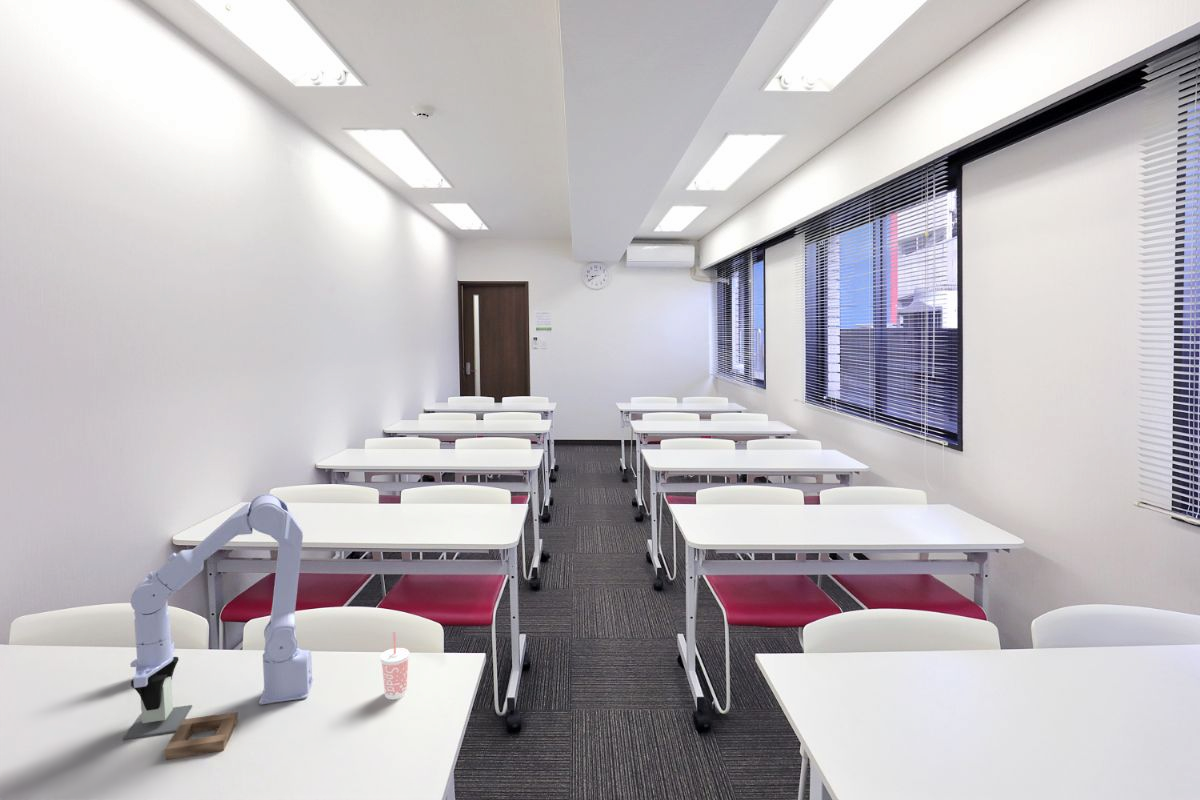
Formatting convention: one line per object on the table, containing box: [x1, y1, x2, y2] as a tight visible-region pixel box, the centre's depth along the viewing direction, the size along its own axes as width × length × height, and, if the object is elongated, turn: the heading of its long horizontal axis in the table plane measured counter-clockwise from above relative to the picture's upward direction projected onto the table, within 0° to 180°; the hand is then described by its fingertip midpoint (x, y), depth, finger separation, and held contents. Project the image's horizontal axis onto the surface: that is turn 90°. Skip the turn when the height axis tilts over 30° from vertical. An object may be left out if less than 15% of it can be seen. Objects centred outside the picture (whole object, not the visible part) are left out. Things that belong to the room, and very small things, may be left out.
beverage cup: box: [379, 632, 410, 700], centre depth 137 cm, size 6×6×14 cm
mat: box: [122, 704, 193, 741], centre depth 126 cm, size 9×9×1 cm
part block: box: [140, 677, 174, 723], centre depth 126 cm, size 4×4×7 cm
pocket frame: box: [164, 711, 239, 760], centre depth 121 cm, size 10×10×2 cm
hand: (157, 702), depth 126 cm, fingers closed on part block, 4 cm apart
